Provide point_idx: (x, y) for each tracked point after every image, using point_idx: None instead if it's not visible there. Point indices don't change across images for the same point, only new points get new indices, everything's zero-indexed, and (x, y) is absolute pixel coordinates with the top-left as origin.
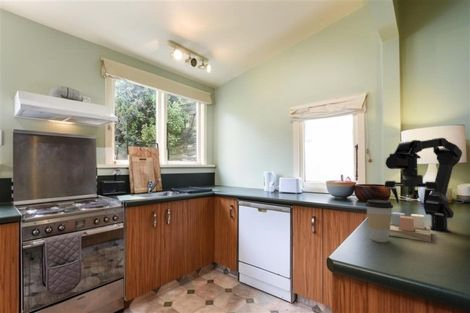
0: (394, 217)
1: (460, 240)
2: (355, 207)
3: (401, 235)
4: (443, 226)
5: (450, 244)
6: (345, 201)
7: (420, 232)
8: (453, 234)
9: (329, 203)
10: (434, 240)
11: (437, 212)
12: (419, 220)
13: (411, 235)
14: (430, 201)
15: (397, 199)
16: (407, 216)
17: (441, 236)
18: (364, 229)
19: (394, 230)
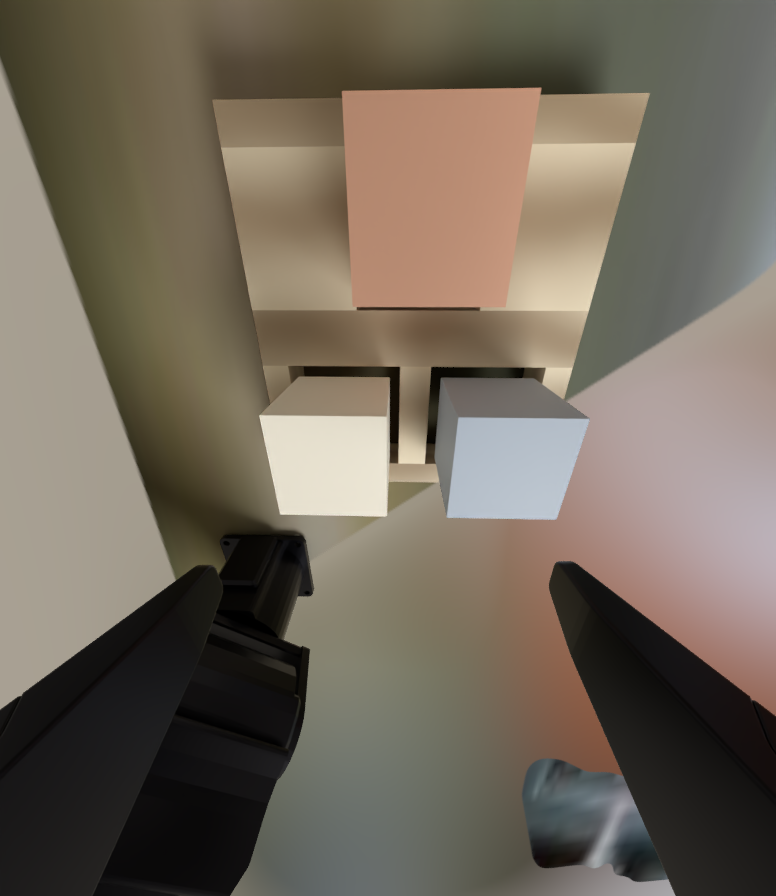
0: (540, 402)
1: (124, 359)
2: (623, 782)
3: None
4: (232, 552)
5: (117, 145)
6: (642, 841)
7: (306, 178)
8: (197, 497)
9: None
10: (234, 220)
11: (212, 634)
12: (316, 398)
13: None
14: (212, 760)
15: (624, 622)
16: (422, 302)
17: (229, 402)
18: (752, 256)
19: (542, 96)
